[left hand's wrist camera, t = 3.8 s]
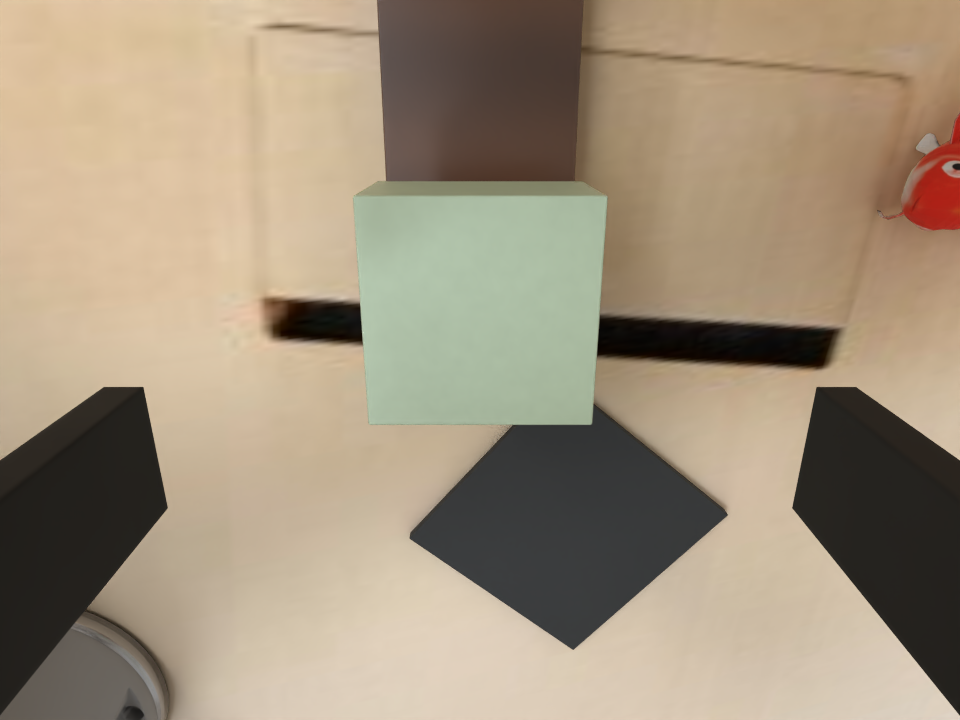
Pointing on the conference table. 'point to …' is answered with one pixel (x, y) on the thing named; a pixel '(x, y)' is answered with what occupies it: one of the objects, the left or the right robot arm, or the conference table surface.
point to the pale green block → (480, 300)
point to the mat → (567, 523)
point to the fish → (934, 185)
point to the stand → (480, 89)
